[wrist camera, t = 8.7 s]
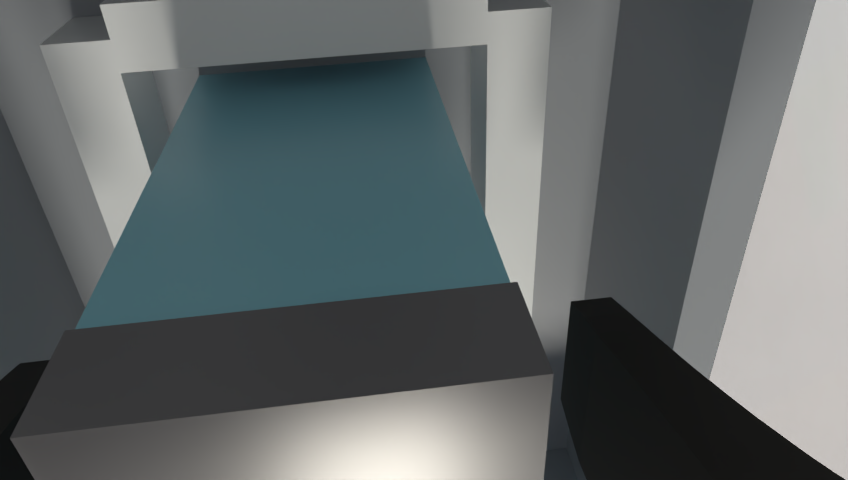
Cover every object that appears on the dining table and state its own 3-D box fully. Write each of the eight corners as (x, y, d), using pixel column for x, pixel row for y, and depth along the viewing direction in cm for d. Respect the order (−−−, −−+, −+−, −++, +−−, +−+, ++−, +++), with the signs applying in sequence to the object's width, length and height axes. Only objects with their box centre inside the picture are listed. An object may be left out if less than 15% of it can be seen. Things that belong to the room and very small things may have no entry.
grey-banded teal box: (259, 334, 15) (201, 760, 8) (195, 73, 11) (8, 438, 5) (438, 314, 15) (522, 709, 9) (427, 53, 12) (554, 374, 5)
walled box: (148, 504, 18) (101, 681, 15) (-245, -361, 8) (-713, -496, 5) (585, 448, 19) (646, 602, 16) (707, -388, 9) (961, -519, 6)
